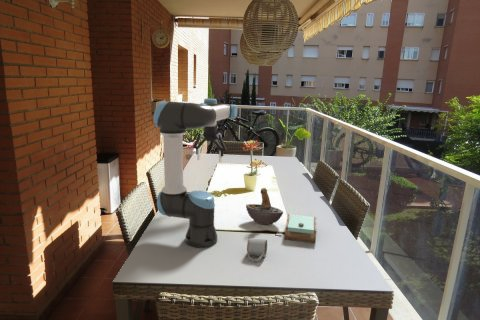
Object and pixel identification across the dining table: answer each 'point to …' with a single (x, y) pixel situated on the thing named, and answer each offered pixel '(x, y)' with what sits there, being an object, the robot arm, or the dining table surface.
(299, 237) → the box
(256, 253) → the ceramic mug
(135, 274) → the dining table surface
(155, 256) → the dining table surface
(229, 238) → the dining table surface
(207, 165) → the dining table surface
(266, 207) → the planter
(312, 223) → the lid
